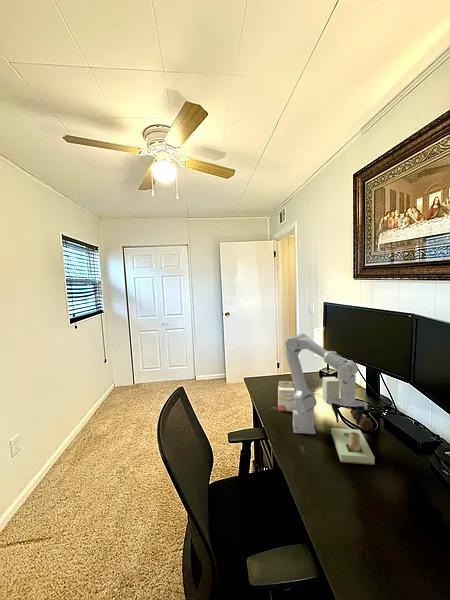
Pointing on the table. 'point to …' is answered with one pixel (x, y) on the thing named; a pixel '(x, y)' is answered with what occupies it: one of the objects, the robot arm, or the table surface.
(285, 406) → the ink cartridge box
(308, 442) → the table surface
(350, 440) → the pin
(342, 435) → the socket block
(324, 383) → the supplement box
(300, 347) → the robot arm
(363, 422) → the bolt
